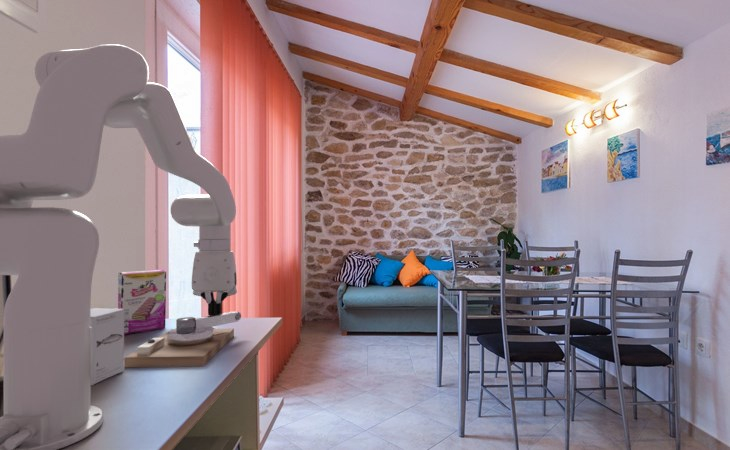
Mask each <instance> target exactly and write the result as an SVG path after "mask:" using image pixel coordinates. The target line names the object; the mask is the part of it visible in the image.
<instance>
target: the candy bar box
mask: <svg viewBox="0 0 730 450" xmlns="http://www.w3.org/2000/svg"><path fill="white" fill-rule="evenodd" d="M117 276H118V278H117V281H118V283H117V309H124V336H125V335H130V334H136V333H143V332H145V333H146V332H150V331H156V330H163V329H166V313H167V311H166V306H167V305H166V304H167V301H166V300H167V299H166V298H167V296H166V294H167V271H166V270H163V269H153V270H150V269H149V270H138V271H136V270H135V271H121V272H118V275H117Z"/></svg>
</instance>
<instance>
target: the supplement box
mask: <svg viewBox="0 0 730 450" xmlns="http://www.w3.org/2000/svg"><path fill="white" fill-rule="evenodd" d="M90 318H91V386H94V385H95V384H98V383H100V382H102V381H105V380H106V379H108V378H111V377H113V376H116V375H117V374H120V373H122V372H124V371H125V367H124V357H125V335H124V309H118V308H108V307H106V308H103V307H94V308H91V312H90Z"/></svg>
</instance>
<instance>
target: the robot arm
mask: <svg viewBox="0 0 730 450" xmlns="http://www.w3.org/2000/svg"><path fill="white" fill-rule="evenodd" d="M149 69H150V68H149V65H148V62H147V61H146V59H145V57H144V56H143V55H142V54H141V53H140V52H138V51H137V50H136V49H133V48H131V47H129V46H125V45H122V44H100V45H96V46H92V47H89V48H88V47H87V48H79V49H77V48H76V49H75V48H74V49H62V50H61V49H60V50H54V51H53V50H52V51H49V52H46V53H44V54H43V55H41V56H40V57H39V58H38V60H37V61H36V62H35V67H34V75H35V79H36V81H37V84H38V86H39V89H38V92H37V94H36V97H35V101H34V105H33V108H32V113H31V116H30V120H29V124H28V127H27V129H26V131H25V132H24V133H22V134H8V135H0V276H17V279H16V281H15V283H14V285H13V286H12V289H11V290H10V293H9V294H8V296H7V298H6V301H5V305H4V310H3V316H2V317H3V319H2V320H3V324H2V325H3V326H2V329H3V415H2V416H0V450H59V449H62V448H66V447H68V446H71V445H73V444H76V443H77V442H80V441H81V440H83V439H86V438H87V437H88V436H90V435H92V434H93V433H94V432H96V431H97V430H98V429H99V428H100V427H101V425H102V424H103V422H104V412H103V409H101V408H100V407H97V406H95V405H91V395H92V394H91V392H92V390H91V386H92V385H91V318H90V312H91V309H92V308H91V305H92V304H91V299H92V284H93V283H92V282H93V276H94V270H95V266H96V262H97V257H98V253H99V247H100V236H99V235H100V234H99V232H98V229H97V227H96V225H95V224H94V222H93V221H92V220H91V219H90V218H89V217H88V216H87V215H85V214H83V213H81V212H79V211H77V210H73V209H69V208H63V207H49V206H48V207H47V206H46V207H32V205H33V201H60V200H64V201H65V200H72V199H74V200H75V199H78V198H82V197H84V196H86V195H88V194H89V193H90V192H91V190H92V188H93V187H94V185H95V182H96V178H97V173H98V165H99V159H100V158H99V157H100V153H101V145H102V138H103V132H104V126H105V127H108V128H113V129H136V130H137V131H138V133H139V136H140V137H141V139H142V141H143V144H144V146H145V147H146V149H147V151H148V153H149V155H150V158H151V160H152V161H153V164H154V165H155V166H156V167H157V168H158V169H160V170H162V171H163V172H167V173H169V174H171V175H174V176H177V177H179V178H181V179H184V180H187V181H189V182H191V183H193V184H195V185H197V186H199V187H200V188H201V189H203V190H204V191H205V193H207V194H205V193H203V194H199V193H198V194H184V195H180V196H178V197H177V198H175V199H174V200H173V201H172V203H171V205H170V215H171V217H172V219H173V221H174V222H175V223H177V224H178V225H181V226H184V227H199V228H198V231H199V232H198V237H199V239H198V240H197V241H194V242H193V247H194V248H197V249H198V250H199V251H196V252H194V253H195V254H194V259H193V262H192V263H193V265H192V266H193V267H192V273H191V289H192V295H193V296H197V297H201V298H202V299H204V300H205V302H206V304H207V316H211V315H217V314H222V313H223V301H224V300H225V299H227V298H228V297H230V296H231V297H232V296H235V295H236V294H237V293H238V289H237V285H238V283H237V281H238V279H237V265H236V258H235V253H234V251H233V250H232V249H231V246H232V245H231V243H232V241H231V239H232V238H231V236H232V235H231V234H232V232H231V230H232V228H231V225H232V223H233V221H234V220H235V218H236V214H237V206H236V202H235V199H234V195H233V192H232V190H231V187H230V185H229V182H228V180H227V178H226V177H225V176H224V175H223V173H222V172H221V171H220V170H219V169H218V168H217V167H216V166H214V165H213V163H211V162H210V161H209V160H207V158H205V157H203V156H202V155H201V154H199V153H198V152H197V151H196V150H195V147H194V146H193V145H194V144H193V142H192V140H191V138H190V135H189V133H188V130H187V127H186V125H185V123H184V120H183V117H182V115H181V112H180V109H179V108H178V105H177V103H176V101H175V97H174V96H173V94H172V92H171V90H170V89H168V87H166V86H164V85H162V84H160V83H156V82H150V81H148V80H149V75H150V72H149V71H150V70H149ZM214 292H216V297H215V294H214Z"/></svg>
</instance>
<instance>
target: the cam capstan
mask: <svg viewBox="0 0 730 450" xmlns="http://www.w3.org/2000/svg"><path fill="white" fill-rule="evenodd" d="M241 319H242V314H241V312H239V311H228V312H222V314H217V315H211V316H210V315H206V316H201V317H193V316H188V317H187V316H185V317H180V318H177V319H176V321H175V322H176V323H175V324H176V325H175V326H176V328H172V329H173V330H171V329H170V330H171V331H170V330H168V331H169V332H168V331H167V332H168V333H167V343H168V344H170V345H176V346H187V345H196V344H201V343H205V342H208V341H210V340H212V339H213V338H214V329H215V328H214V327H218V326H222V325H227V324H232V323H237V322H239V321H240V320H241Z"/></svg>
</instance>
